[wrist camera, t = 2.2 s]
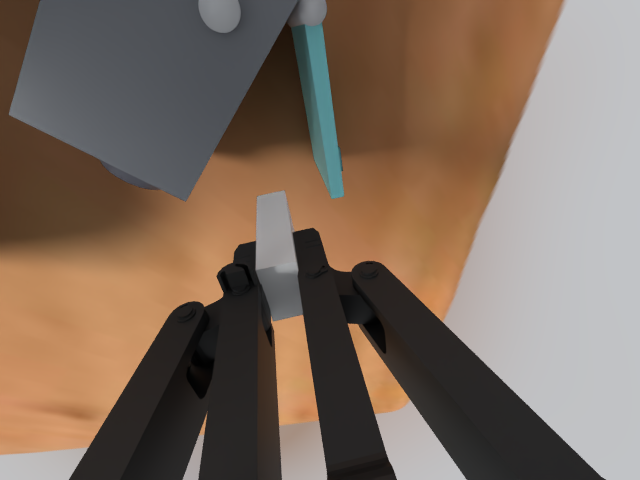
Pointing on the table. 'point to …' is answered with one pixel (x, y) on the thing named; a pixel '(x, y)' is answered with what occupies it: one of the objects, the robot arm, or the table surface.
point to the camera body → (144, 80)
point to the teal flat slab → (317, 90)
